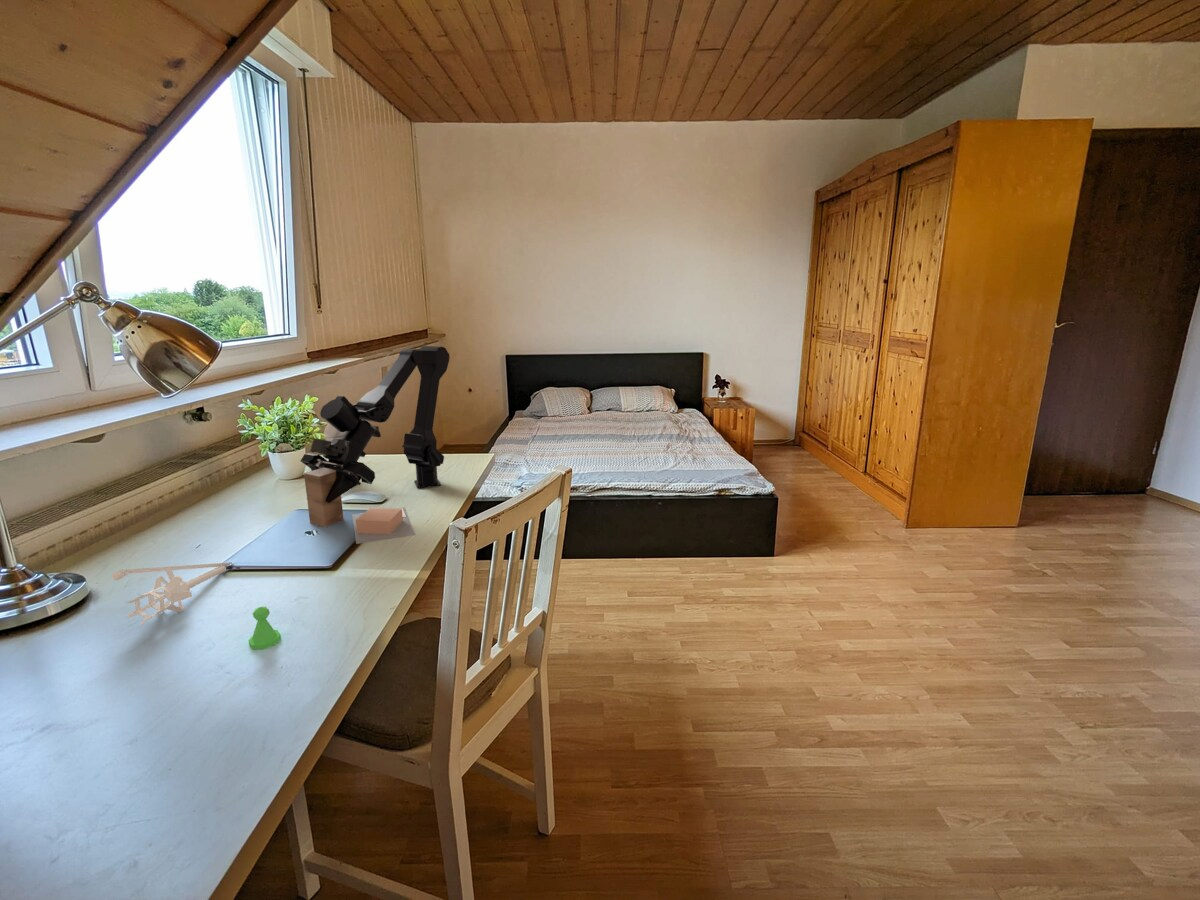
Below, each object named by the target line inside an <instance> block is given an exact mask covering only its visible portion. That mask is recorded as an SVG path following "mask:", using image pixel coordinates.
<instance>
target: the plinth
mask: <svg viewBox="0 0 1200 900" xmlns="http://www.w3.org/2000/svg"><path fill="white" fill-rule="evenodd" d="M363 513H364V514H363V515H361V516H360V517H359V518H358V519H357V520H356V528H357V533H377V534H391V533H392V532H393V531H394V530H395V529H396V528H397V527H398V525H399V524H400V523H401V522H402V521H403V516H402V509H397V508H387V507H386V508H384V507H381V508H380V507H378V508H377V507H370V508H368V509H367V510H366V511H365V512H363Z"/></svg>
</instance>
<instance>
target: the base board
mask: <svg viewBox="0 0 1200 900" xmlns="http://www.w3.org/2000/svg"><path fill="white" fill-rule="evenodd" d="M396 509H402V516H403V521H402V522H401V523H400V524H399V525H398V527H397V528H396V529H395V530H394V531H393V532H392V533H391V534H377V533H357V528H356V520H357V519H358V518H359V517H360V516H361V515H363V514H364V513H365V512H362V513H355V514H351V515H352V523H353V529H354V530H353V531H354V537H355V544H356V545H359V544H364V543H371V542H372V543H373V542H378V541H384V540H391V539H392V540H393V539H398V538H404V537H410V536H411V537H412V536H416V533H415V530H414V528H413V526H412V524H411V521H410V518H409V515H408V513H407V510H406V508H405V507H399V508H396Z"/></svg>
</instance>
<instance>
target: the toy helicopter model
mask: <svg viewBox="0 0 1200 900" xmlns="http://www.w3.org/2000/svg"><path fill="white" fill-rule="evenodd" d="M232 563H233V562H231V561H230V562H219V563H218V562H217V563H205V564H204V563H202V564H201V563H200V564H189V565H173V566H157V567H141V568H129V569H128V568H126V569H119V570H117V571H115V572H114V573H112V574H111V577H112V579H113V581H120V580H121V579H124V577H127V576H128V575H129V574H140V573H153V572H154V573H156V572H165V571H166V575H167V577H168V579H169V582H168V581H167V580H166V578H165V577H163V576H162V575H161V576H159V577H157V578H156V579H155V583H154V588H153V589H152V590H149V591H147V592H145V593H142V594H140V595H139V596H138V597H136V598H134V599H131V600H128V601H125V602H124V604H133V603H134V604H135V610H134V611H132V612H131V613H129V614H128V615H127V616H126V617H125V618H126V619H127V618H129V617H134V616H136V615H139V616H142V617H143V618H144V619H142V622H141V623H140V626H142V625H143V624H144V623H145V622H147V621H148V620H150V619H152V618H155V617H156V616H157V615H159V614H161V613H165V611H166V610H169V611H172V612H176V613H181V612H183V611H185V607H184V605H183V603H182V601H184V600H186V599H190V598H192V596H193V595H192V591H191V590H190V589H192V588H194V587H196V586H198V585H200V584H201V583H204V582H207V581H208V580H210V579H211V578H214V577H217V576H218V575H220V574H222V573H226V571H227V567H228V566H231V565H233V564H232ZM230 564H231V565H230ZM204 568H205V569H207V568H213V569H211V570H208V571H207V572H204V573H203V574H200V575H199V576H197V577H195V578H192V579H190V580H188V581H184V580H183V577H181V576H178V575H177V576H175V574H174V571H179V570H180V571H181V570H192V569H204ZM162 583H163V584H164V586H162ZM158 590H162V591H158ZM146 597H148V604H146V605H144V606H143V607H141V605H140V604H141V603H140V600H141V599H144V598H146ZM154 597H155V598H154ZM164 599H166V600H167V601H166V602H165V600H164ZM176 602H177V604H178V606H177V605H175V603H176ZM157 603H159V605H158V604H157ZM150 608H153V609H155V610H156V611H155V612H154V613H153V614H151V615H150V614H148V613H146V612H144V611H146V610H147V609H150Z"/></svg>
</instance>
